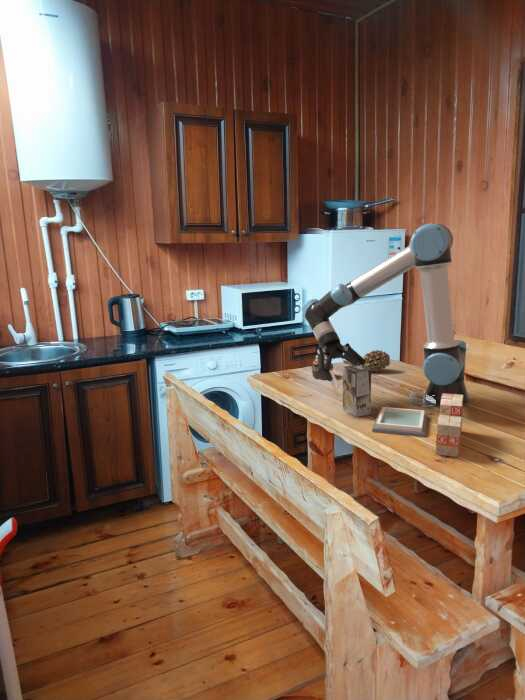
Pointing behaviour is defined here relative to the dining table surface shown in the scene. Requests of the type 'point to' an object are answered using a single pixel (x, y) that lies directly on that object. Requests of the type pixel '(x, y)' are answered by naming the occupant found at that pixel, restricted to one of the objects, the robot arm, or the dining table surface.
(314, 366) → the cupcake
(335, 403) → the dining table surface
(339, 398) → the dining table surface
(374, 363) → the pine cone
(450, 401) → the stack of blocks
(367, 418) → the dining table surface
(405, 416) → the holder board
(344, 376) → the coffee box
